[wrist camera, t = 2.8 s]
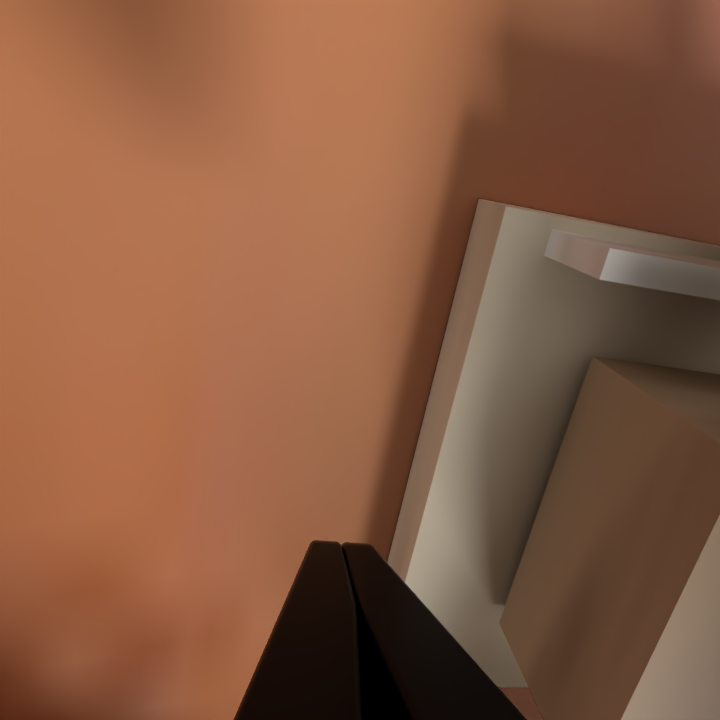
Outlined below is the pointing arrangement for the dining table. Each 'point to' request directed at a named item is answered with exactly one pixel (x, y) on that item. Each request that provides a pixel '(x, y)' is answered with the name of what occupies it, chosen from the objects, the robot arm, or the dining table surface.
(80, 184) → the dining table surface
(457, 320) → the base
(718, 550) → the gauge carriage
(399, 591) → the robot arm
